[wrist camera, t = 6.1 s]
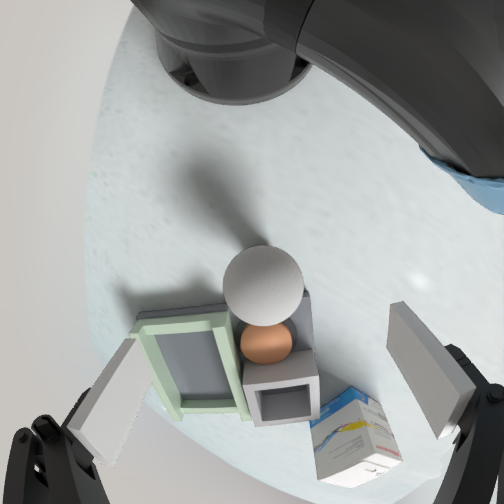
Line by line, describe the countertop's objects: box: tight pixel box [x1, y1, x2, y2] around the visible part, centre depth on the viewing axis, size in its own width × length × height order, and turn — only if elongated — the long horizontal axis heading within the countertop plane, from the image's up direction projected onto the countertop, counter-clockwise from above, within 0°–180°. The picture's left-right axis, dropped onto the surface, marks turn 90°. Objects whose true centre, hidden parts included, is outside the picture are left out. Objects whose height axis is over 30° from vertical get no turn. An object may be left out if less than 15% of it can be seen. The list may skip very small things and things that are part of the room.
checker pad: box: [240, 322, 292, 365], centre depth 27 cm, size 5×5×1 cm
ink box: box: [309, 387, 403, 488], centre depth 28 cm, size 9×8×12 cm
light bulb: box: [223, 245, 304, 326], centre depth 22 cm, size 6×6×10 cm
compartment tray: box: [129, 291, 320, 427], centre depth 28 cm, size 15×19×6 cm
